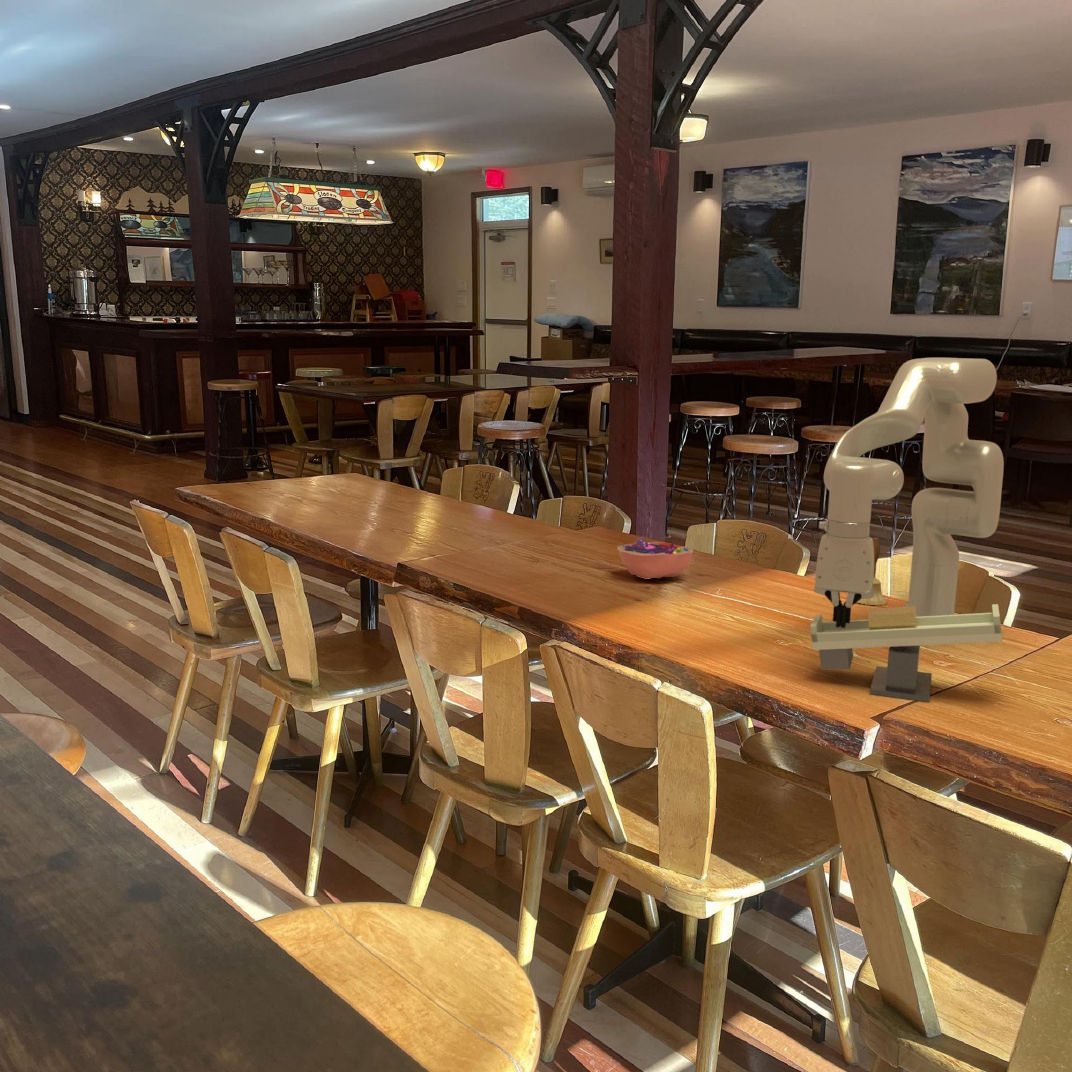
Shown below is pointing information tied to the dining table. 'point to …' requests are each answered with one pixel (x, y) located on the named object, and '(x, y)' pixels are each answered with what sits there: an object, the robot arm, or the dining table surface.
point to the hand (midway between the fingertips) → (841, 625)
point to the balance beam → (901, 635)
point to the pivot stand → (902, 676)
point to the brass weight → (892, 618)
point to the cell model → (655, 558)
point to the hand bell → (875, 582)
